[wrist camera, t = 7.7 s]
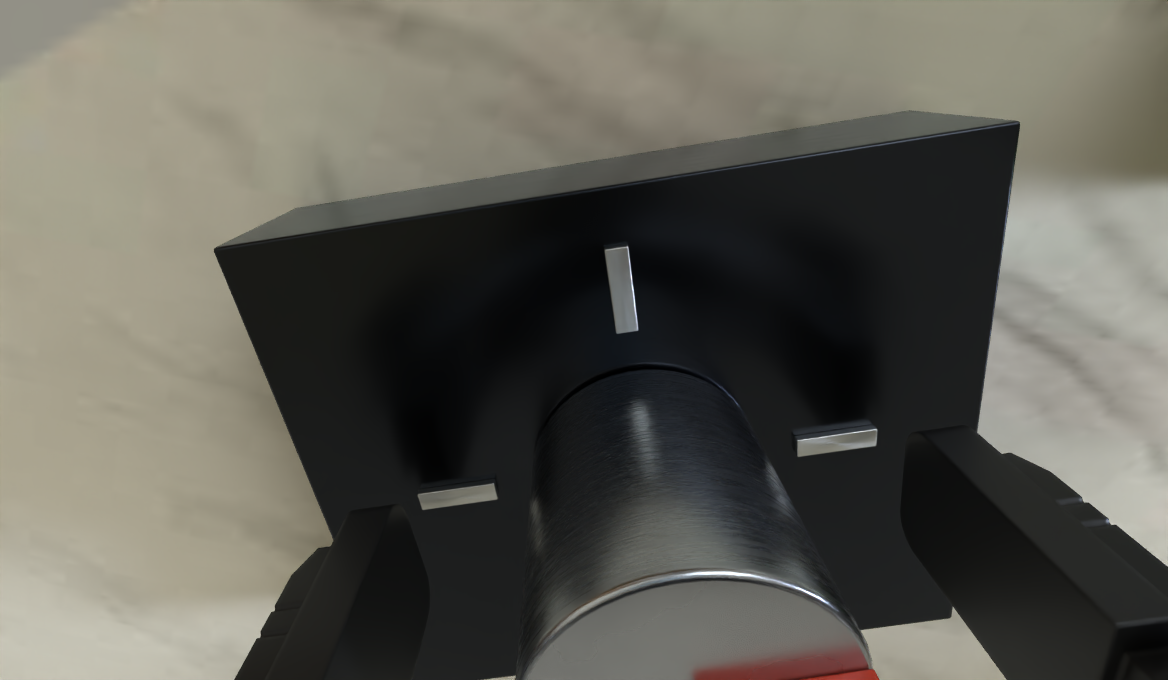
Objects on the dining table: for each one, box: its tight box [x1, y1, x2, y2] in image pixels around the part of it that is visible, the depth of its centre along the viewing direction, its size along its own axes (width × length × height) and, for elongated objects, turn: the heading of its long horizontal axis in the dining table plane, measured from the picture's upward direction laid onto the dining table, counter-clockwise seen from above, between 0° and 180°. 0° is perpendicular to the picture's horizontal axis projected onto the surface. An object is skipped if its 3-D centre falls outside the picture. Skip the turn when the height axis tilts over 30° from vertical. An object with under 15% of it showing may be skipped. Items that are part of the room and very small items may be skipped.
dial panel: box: [214, 110, 1020, 680], centre depth 12 cm, size 10×12×3 cm
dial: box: [515, 370, 879, 680], centre depth 8 cm, size 4×4×5 cm
